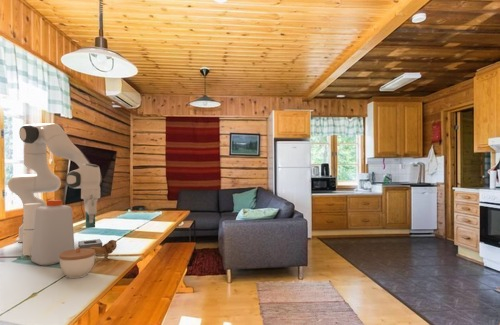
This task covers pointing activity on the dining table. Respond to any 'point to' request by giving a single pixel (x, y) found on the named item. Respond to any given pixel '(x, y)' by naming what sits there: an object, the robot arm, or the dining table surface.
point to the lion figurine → (105, 249)
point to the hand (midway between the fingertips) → (90, 221)
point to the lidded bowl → (77, 262)
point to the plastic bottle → (52, 232)
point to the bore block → (89, 243)
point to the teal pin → (89, 225)
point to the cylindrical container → (29, 226)
